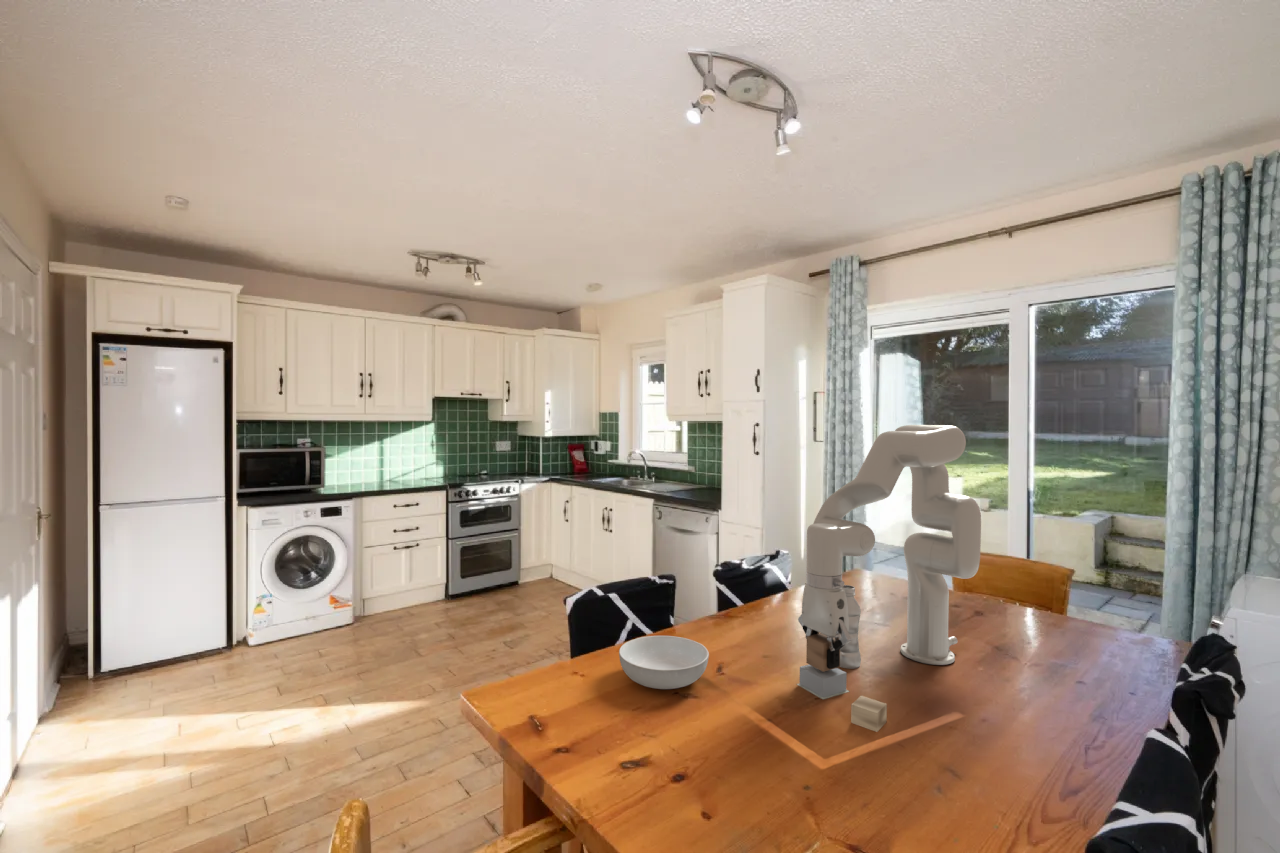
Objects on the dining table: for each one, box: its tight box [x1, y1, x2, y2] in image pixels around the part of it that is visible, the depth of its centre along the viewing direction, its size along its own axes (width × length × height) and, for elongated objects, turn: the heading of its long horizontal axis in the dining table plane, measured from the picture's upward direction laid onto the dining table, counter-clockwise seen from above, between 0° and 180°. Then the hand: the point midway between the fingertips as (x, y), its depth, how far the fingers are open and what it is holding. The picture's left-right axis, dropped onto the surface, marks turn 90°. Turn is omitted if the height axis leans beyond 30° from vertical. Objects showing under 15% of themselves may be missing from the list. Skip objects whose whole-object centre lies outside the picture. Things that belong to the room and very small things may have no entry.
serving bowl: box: [618, 635, 710, 690], centre depth 134 cm, size 21×21×7 cm
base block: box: [799, 664, 848, 698], centre depth 128 cm, size 7×7×4 cm
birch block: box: [850, 695, 888, 733], centre depth 113 cm, size 5×5×5 cm
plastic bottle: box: [839, 584, 862, 670], centre depth 141 cm, size 6×7×20 cm
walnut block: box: [805, 633, 841, 672], centre depth 128 cm, size 5×5×6 cm
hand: (823, 661), depth 128 cm, fingers closed on walnut block, 4 cm apart
